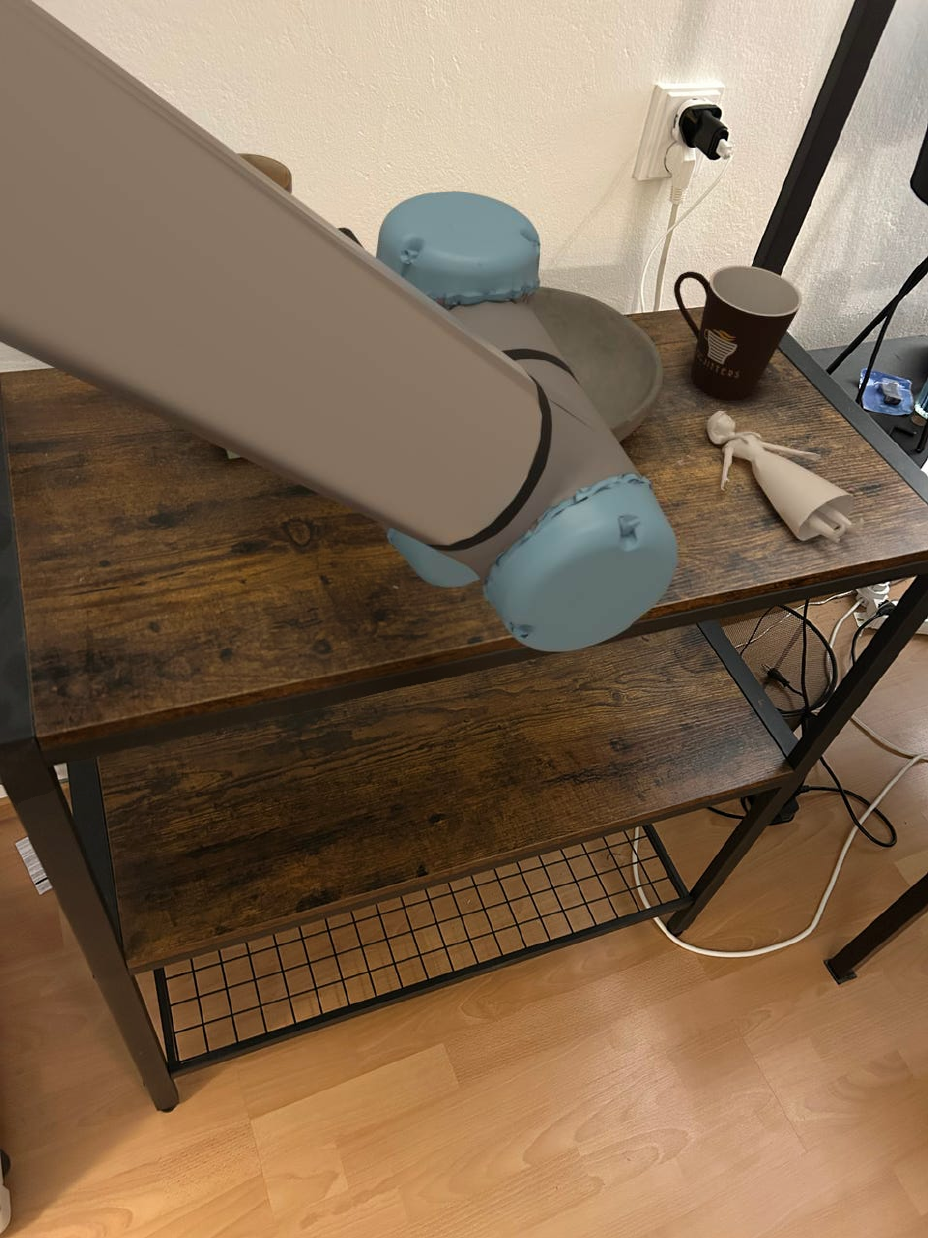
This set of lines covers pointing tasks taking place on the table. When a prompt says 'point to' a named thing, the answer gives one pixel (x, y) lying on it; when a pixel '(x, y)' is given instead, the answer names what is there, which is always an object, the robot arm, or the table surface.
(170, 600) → the table surface
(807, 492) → the woman figurine
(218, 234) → the robot arm
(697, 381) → the coffee mug
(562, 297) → the bowl
